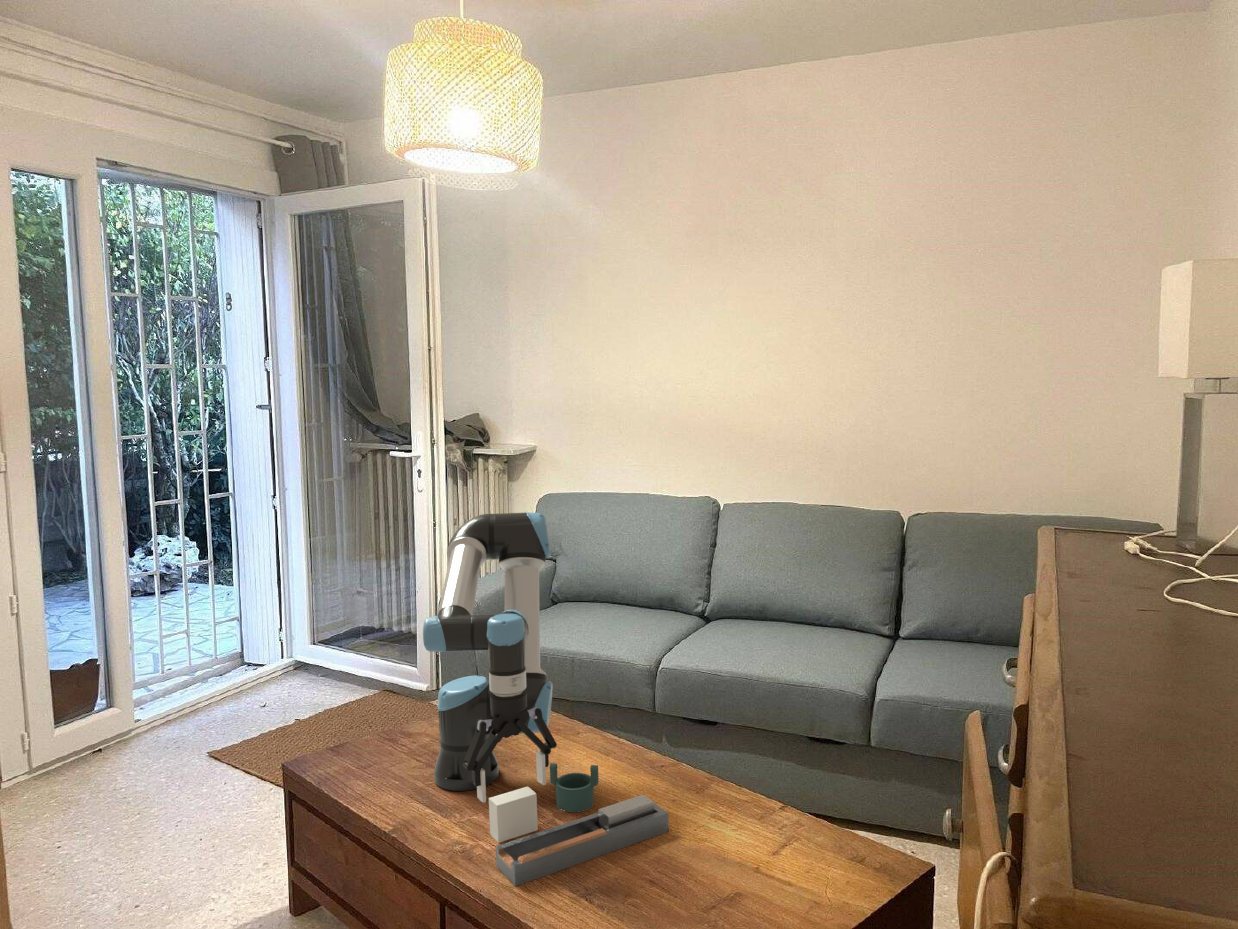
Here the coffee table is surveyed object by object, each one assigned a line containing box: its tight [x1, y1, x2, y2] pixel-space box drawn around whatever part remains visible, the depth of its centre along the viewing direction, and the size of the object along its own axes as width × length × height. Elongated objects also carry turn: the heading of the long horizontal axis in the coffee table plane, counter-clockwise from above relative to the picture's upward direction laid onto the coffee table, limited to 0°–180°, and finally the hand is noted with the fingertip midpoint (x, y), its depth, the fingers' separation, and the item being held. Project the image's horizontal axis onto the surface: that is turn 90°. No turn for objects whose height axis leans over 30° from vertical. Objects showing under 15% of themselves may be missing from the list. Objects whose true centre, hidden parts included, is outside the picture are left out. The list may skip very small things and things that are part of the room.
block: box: [488, 786, 539, 844], centre depth 187 cm, size 4×9×8 cm, turn 122°
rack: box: [495, 794, 670, 887], centre depth 180 cm, size 8×35×6 cm, turn 122°
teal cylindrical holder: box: [549, 762, 600, 813], centre depth 199 cm, size 9×9×9 cm
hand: (512, 791), depth 186 cm, fingers open, 13 cm apart
